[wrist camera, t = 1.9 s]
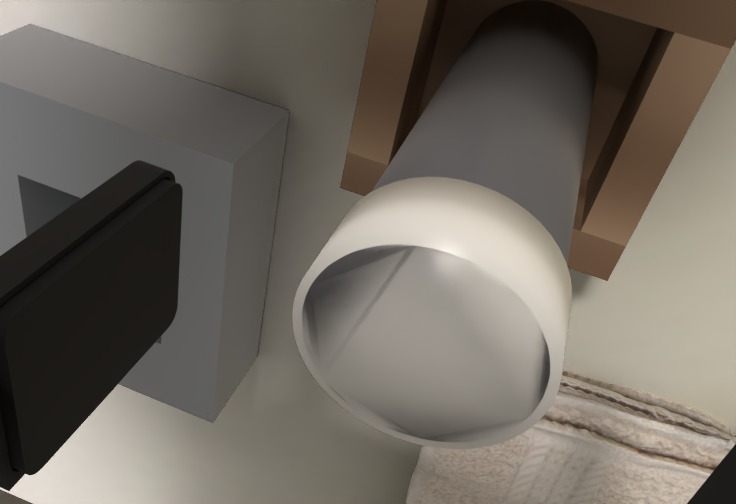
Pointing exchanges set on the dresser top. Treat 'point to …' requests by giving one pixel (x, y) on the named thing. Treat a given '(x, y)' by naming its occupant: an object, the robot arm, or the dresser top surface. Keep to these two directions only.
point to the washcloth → (583, 454)
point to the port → (163, 149)
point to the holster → (609, 109)
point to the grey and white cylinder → (463, 247)
